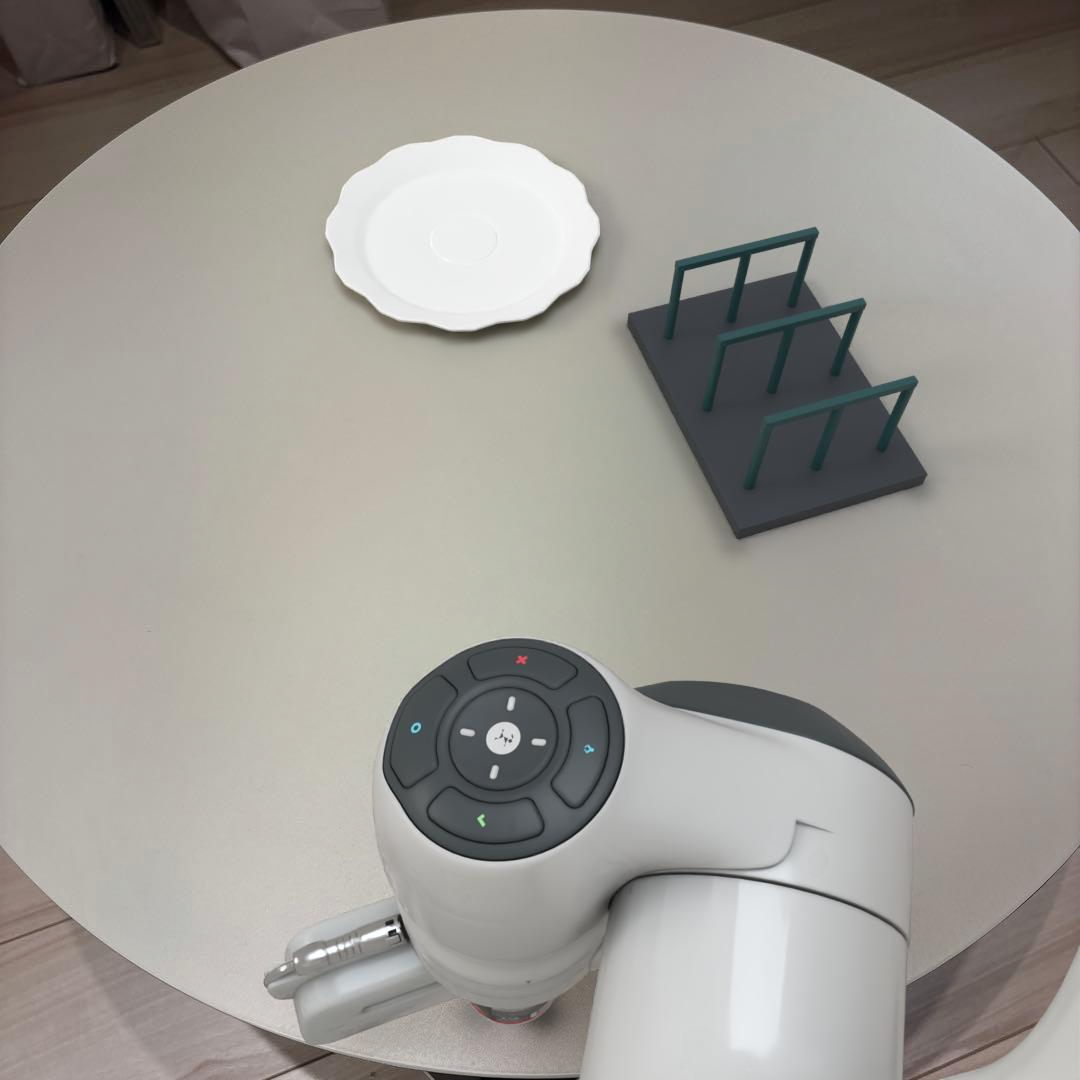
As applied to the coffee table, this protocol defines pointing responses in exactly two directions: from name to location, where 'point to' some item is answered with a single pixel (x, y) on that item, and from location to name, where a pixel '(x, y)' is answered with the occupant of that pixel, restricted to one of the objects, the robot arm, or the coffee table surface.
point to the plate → (462, 233)
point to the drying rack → (775, 394)
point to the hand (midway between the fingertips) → (511, 959)
